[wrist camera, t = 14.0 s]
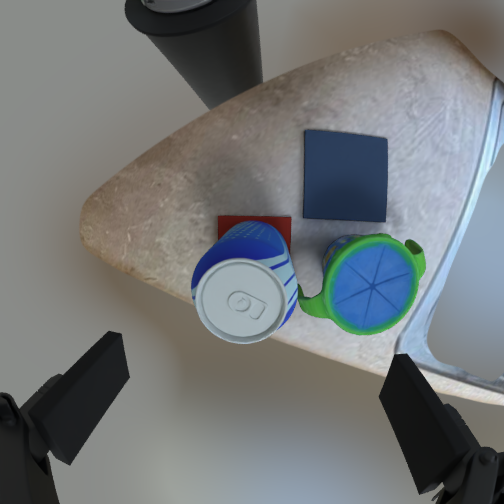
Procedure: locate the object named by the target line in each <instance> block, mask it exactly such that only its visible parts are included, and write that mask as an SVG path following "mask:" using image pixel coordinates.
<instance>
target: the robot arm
mask: <svg viewBox="0 0 504 504" xmlns="http://www.w3.org/2000/svg"><path fill="white" fill-rule="evenodd" d="M141 1H142V3H143V4H144V6H145V5H146V6H147V8H148V9H149V10H151V11H152V12H154V13H157V14H161V15H180V14H186V13H190V12H194V11H197V10H200V9H202V8H204V7H207V6H209V5H211V4H213V3H214V2H216V1H218V0H141ZM129 378H130V376H129V371H128V366H127V361H126V356H125V351H124V345H123V339H122V334H121V333H116V332H111V331H108V332H107V333H106V334H105V335H104V336H103V337H102V338H101V339H100V340H99V341H98V342H96V343H95V344H94V345H93V346H92V347H91V348H90V349H89V350H88V351H87V352H86V353H85V354H84V355H83V356H82V357H81V358H80V359H79V360H78V361H77V362H76V363H75V364H74V365H73V366H72V367H71V368H70V369H69V370H68V371H67V372H66V373H65V374H64V375H61V374H57V375H55V376H54V377H51V378H50V379H49V380H48V381H47V382H46V383H45V384H44V385H43V386H41V388H40V389H39V390H38V392H37V391H36V392H35V394H33V396H32V397H30V398H29V400H28V401H27V402H26V403H24V404H23V406H22V407H21V408H20V409H19V408H18V407H17V405H16V403H15V401H14V399H13V398H12V396H11V395H10V394H8V393H3V392H1V393H0V504H60V503H59V500H58V496H57V493H56V489H55V485H54V480H53V476H52V472H51V466H50V461H49V457H48V455H47V453H48V452H49V450H50V451H51V452H52V454H53V455H54V456H55V458H56V459H58V460H60V461H62V462H64V463H66V464H68V465H71V463H72V461H73V460H74V459H75V457H76V456H77V454H78V453H79V451H80V450H81V448H82V446H83V445H84V443H85V442H86V440H87V439H88V437H89V436H90V434H91V433H92V431H93V430H94V428H95V427H96V425H97V424H98V423H99V421H100V420H101V418H102V417H103V415H104V414H105V412H106V411H107V409H108V408H109V406H110V405H111V404H112V402H113V401H114V399H115V398H116V396H117V395H118V393H119V392H120V391H121V389H122V388H123V386H124V384H125V383H126V382H127V381H128V379H129ZM379 399H380V401H381V403H382V405H383V407H384V410H385V412H386V414H387V416H388V419H389V421H390V423H391V425H392V428H393V430H394V432H395V435H396V437H397V440H398V442H399V444H400V447H401V449H402V452H403V454H404V457H405V459H406V462H407V464H408V467H409V469H410V472H411V474H412V477H413V479H414V482H415V485H416V487H417V490H418V493H419V495H420V494H423V493H426V492H429V491H432V490H434V489H436V488H437V487H438V486H439V485H440V483H441V482H443V484H444V487H443V488H442V490H440V491H439V492H438V493H437V494H436V495H435V496H434V497H433V499H432V501H434V500H435V499H436V498H437V497H438V496H439V497H438V499H437V502H436V504H504V452H501V453H497V452H496V451H495V450H494V449H492V448H490V447H481V446H480V445H479V443H478V442H477V440H476V438H475V437H474V435H473V434H472V432H471V431H470V429H469V428H468V426H467V425H465V424H466V423H465V422H464V420H463V419H461V416H460V414H459V413H458V411H457V410H456V409H455V408H453V407H452V406H451V405H449V404H444V405H443V403H442V402H441V400H440V399H439V397H438V396H437V394H436V393H435V392H434V390H433V389H432V387H431V386H430V384H429V383H428V382H427V380H426V379H425V377H424V376H423V374H422V373H421V372H420V370H419V369H418V368H417V366H416V365H415V363H414V362H413V361H412V359H411V358H410V357H409V355H408V354H394V357H393V360H392V363H391V366H390V368H389V371H388V374H387V377H386V380H385V382H384V385H383V388H382V390H381V392H380V395H379Z"/></svg>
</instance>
